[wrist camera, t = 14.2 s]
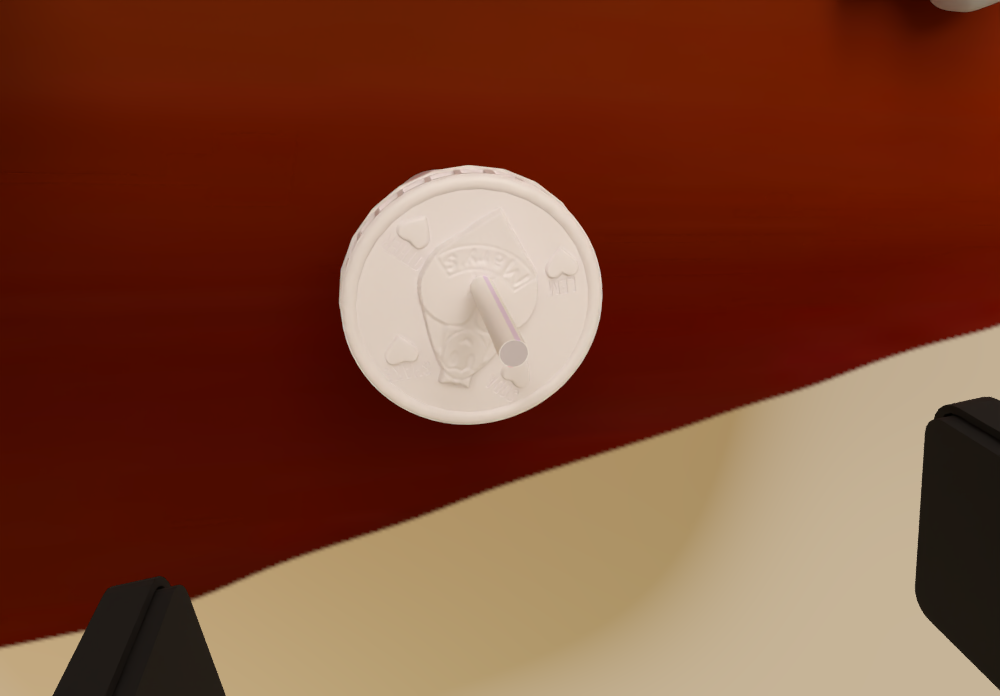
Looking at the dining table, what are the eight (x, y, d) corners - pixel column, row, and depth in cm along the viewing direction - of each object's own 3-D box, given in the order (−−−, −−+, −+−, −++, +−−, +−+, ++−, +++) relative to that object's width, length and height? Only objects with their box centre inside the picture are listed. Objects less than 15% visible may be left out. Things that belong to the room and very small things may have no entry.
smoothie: (549, 154, 27) (719, 253, 14) (502, 323, 29) (612, 547, 16) (367, 107, 25) (368, 168, 12) (331, 289, 27) (300, 505, 14)
